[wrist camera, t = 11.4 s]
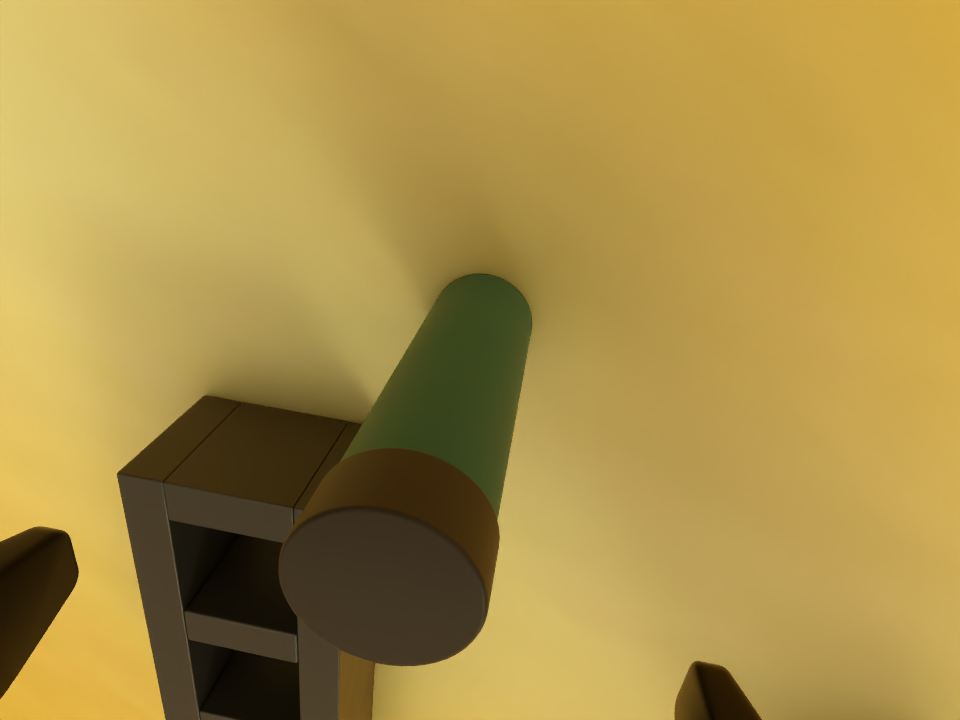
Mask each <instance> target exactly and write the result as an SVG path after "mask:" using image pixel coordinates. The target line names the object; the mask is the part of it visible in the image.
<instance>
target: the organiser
mask: <svg viewBox="0 0 960 720" xmlns="http://www.w3.org/2000/svg"><path fill="white" fill-rule="evenodd" d="M361 426H362V425H361V424H356V423H348V422H346V421H340V420H335V419H330V418H324V417H319V416H313V415H308V414H302V413H297V412H292V411H286V410H281V409H275V408H270V407H264V406H259V405H254V404H248V403H240V402H236V401H231V400H225V399H220V398H214V397H209V396H203V397H202V398H201V399H200V400H199V401H197V402H196V403H195V404H194V405H193V406H192V407H191V408H190V409H188V410H187V411H186V412H185V413H184V414H183V415H182V416H181V417H179V418H178V419H177V420H176V421H175V422H174V423H173V424H172V425H170V426H169V427H168V428H167V429H166V430H165V431H164V432H163V433H162V434H160V435H159V436H158V437H157V438H156V439H155V440H154V441H153V442H151V443H150V444H149V445H148V446H147V447H146V448H145V449H144V450H142V451H141V452H140V453H139V454H138V455H137V456H136V457H135V458H133V459H132V460H131V461H130V462H129V463H128V464H127V465H126V466H125V467H123V468H122V469H121V470H120V471H119V472H118V473H117V478H118V483H119V488H120V493H121V498H122V503H123V508H124V513H125V518H126V523H127V528H128V533H129V538H130V543H131V548H132V553H133V558H134V563H135V568H136V573H137V578H138V583H139V588H140V593H141V598H142V603H143V608H144V613H145V618H146V623H147V628H148V633H149V638H150V643H151V648H152V653H153V658H154V663H155V668H156V673H157V678H158V683H159V688H160V693H161V698H162V703H163V708H164V713H165V718H166V720H371V719H372V702H373V684H374V666H375V662H371V661H367V660H364V659H361V658H358V657H355V656H352V655H350V654H348V653H346V652H343V651H341V650H339V649H337V648H336V647H334V646H332V645H330V644H328V643H327V642H326V641H324V640H323V639H321V638H320V637H318V636H317V635H316V634H315V633H313V632H312V631H311V630H310V629H309V628H308V627H307V626H306V625H305V624H304V623H303V622H302V621H301V620H300V619H299V618H298V617H297V615H296V614H295V613H294V612H293V610H292V609H291V607H290V605H289V604H288V602H287V600H286V598H285V596H284V594H283V591H282V588H281V585H280V580H279V573H278V569H279V556H280V552H281V548H282V546H283V544H284V541H285V539H286V538H287V536H288V534H289V533H290V531H291V530H292V528H293V526H294V525H295V523H296V521H297V520H298V518H299V517H300V515H301V513H302V512H303V510H304V508H305V507H306V505H307V504H308V502H309V500H310V499H311V497H312V495H313V494H314V492H315V491H316V489H317V487H318V486H319V484H320V482H321V481H322V479H323V478H324V477H325V475H326V474H327V473H328V472H329V471H330V470H331V469H332V468H333V467H334V466H335V465H337V464H338V463H339V462H340V461H341V459H342V457H343V456H344V454H345V452H346V451H347V449H348V447H349V446H350V444H351V442H352V441H353V439H354V437H355V436H356V434H357V432H358V431H359V429H360V427H361Z"/></svg>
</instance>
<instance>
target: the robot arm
mask: <svg viewBox="0 0 960 720" xmlns="http://www.w3.org/2000/svg"><path fill="white" fill-rule="evenodd" d="M78 573H79V571H78V566H77V562H76V558H75V554H74V551H73V547H72V543H71V539H70V537H69V535H68V534H67V533H66V532H65V531H62V530H58V529H53V528H48V527H34V528H31V529H28V530H26V531H24V532H22V533H19V534H17V535H15V536H12V537H10V538H8V539H6V540H3V541H1V542H0V699H1V698H2V696H3V695H4V694H5V692H6V691H7V690H8V688H9V687H10V685H11V684H12V682H13V681H14V679H15V678H16V676H17V675H18V674H19V672H20V671H21V669H22V667H23V666H24V664H25V663H26V661H27V660H28V658H29V657H30V655H31V654H32V652H33V651H34V649H35V647H36V646H37V644H38V643H39V641H40V640H41V638H42V637H43V635H44V634H45V632H46V631H47V629H48V627H49V626H50V624H51V623H52V621H53V620H54V618H55V617H56V615H57V614H58V612H59V610H60V609H61V607H62V606H63V604H64V603H65V601H66V600H67V598H68V597H69V595H70V594H71V592H72V590H73V589H74V587H75V585H76V582H77V579H78ZM675 720H762V719H761V717H760V716H759V715H758V713H757V712H756V710H755V709H754V707H753V706H752V704H751V703H750V701H749V700H748V699H747V697H746V696H745V694H744V693H743V691H742V690H741V688H740V687H739V685H738V684H737V683H736V681H735V680H734V678H733V677H732V675H731V674H730V673H729V671H728V670H727V669H726V668H724V667H723V666H720V665H716V664H711V663H706V662H701V661H695V662H693V663H692V664H691V666H690V667H689V670H688V672H687V674H686V677H685V679H684V682H683V684H682V686H681V689H680V691H679V693H678V696H677V699H676V703H675Z"/></svg>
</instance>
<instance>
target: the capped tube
mask: <svg viewBox="0 0 960 720" xmlns="http://www.w3.org/2000/svg"><path fill="white" fill-rule="evenodd" d="M531 329H532V317H531V312H530V309H529V306H528V304H527V302H526V300H525V298H524V297H523V295H522V294H521V293H520V292H519V291H518V290H517V289H516V288H515V287H514V286H513V285H511V284H510V283H509V282H507V281H505V280H503V279H501V278H498V277H496V276H492V275H486V274H473V275H467V276H464V277H461V278H459V279H457V280H455V281H453V282H452V283H450V284H449V285H448V286H447V287H446V288H445V289H444V290H443V291H442V292H441V294H440V295H439V297H438V299H437V300H436V302H435V304H434V305H433V307H432V309H431V310H430V312H429V314H428V315H427V317H426V319H425V320H424V322H423V324H422V325H421V327H420V329H419V330H418V332H417V334H416V335H415V337H414V339H413V340H412V342H411V344H410V345H409V347H408V349H407V350H406V352H405V354H404V355H403V357H402V359H401V360H400V362H399V364H398V365H397V367H396V369H395V370H394V372H393V374H392V375H391V377H390V379H389V380H388V382H387V384H386V386H385V387H384V389H383V391H382V392H381V394H380V396H379V397H378V399H377V401H376V402H375V404H374V406H373V407H372V409H371V411H370V412H369V414H368V416H367V417H366V419H365V421H364V422H363V424H362V426H361V427H360V429H359V431H358V432H357V434H356V436H355V437H354V439H353V441H352V442H351V444H350V446H349V447H348V449H347V451H346V452H345V454H344V456H343V457H342V459H341V461H340V462H339V463H338V464H337V465H335V466H334V467H333V468H332V469H331V470H330V471H329V472H328V473H327V474H326V475H325V477H324V478H323V479H322V481H321V482H320V484H319V486H318V487H317V489H316V491H315V492H314V494H313V495H312V497H311V499H310V500H309V502H308V504H307V505H306V507H305V508H304V510H303V512H302V513H301V515H300V517H299V518H298V520H297V521H296V523H295V525H294V526H293V528H292V530H291V531H290V533H289V534H288V536H287V538H286V539H285V541H284V544H283V546H282V548H281V552H280V556H279V569H278V573H279V580H280V585H281V588H282V591H283V594H284V596H285V598H286V600H287V602H288V604H289V605H290V607H291V609H292V610H293V612H294V613H295V614H296V615H297V617H298V618H299V619H300V620H301V621H302V622H303V623H304V624H305V625H306V626H307V627H308V628H309V629H310V630H311V631H312V632H313V633H315V634H316V635H317V636H318V637H320V638H321V639H323V640H324V641H326V642H327V643H328V644H330V645H332V646H334V647H336V648H337V649H339V650H341V651H343V652H346V653H348V654H350V655H352V656H355V657H358V658H361V659H364V660H367V661H371V662H375V663H380V664H386V665H395V666H418V665H426V664H431V663H435V662H439V661H442V660H445V659H448V658H450V657H452V656H454V655H456V654H458V653H459V652H460V651H462V650H463V649H465V648H466V647H467V646H468V645H469V644H470V643H471V642H472V641H473V640H474V639H475V638H476V636H477V635H478V634H479V632H480V631H481V629H482V627H483V625H484V623H485V621H486V617H487V613H488V608H489V602H490V596H491V590H492V584H493V578H494V572H495V566H496V560H497V554H498V548H499V538H500V536H499V526H498V522H497V519H498V514H499V508H500V503H501V497H502V491H503V486H504V480H505V475H506V469H507V464H508V458H509V452H510V447H511V441H512V436H513V430H514V424H515V419H516V413H517V408H518V402H519V397H520V391H521V385H522V380H523V374H524V369H525V363H526V358H527V352H528V346H529V341H530V335H531Z"/></svg>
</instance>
